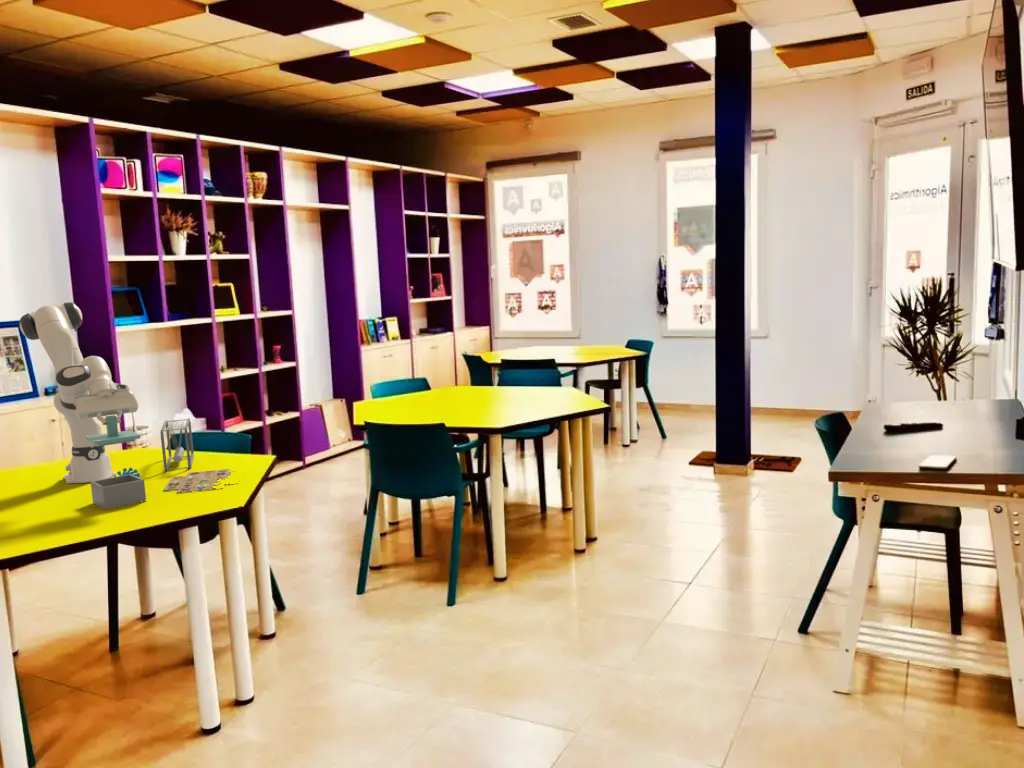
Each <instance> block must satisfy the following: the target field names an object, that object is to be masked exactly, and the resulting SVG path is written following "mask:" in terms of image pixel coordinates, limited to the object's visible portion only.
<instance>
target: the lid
mask: <svg viewBox="0 0 1024 768" xmlns="http://www.w3.org/2000/svg"><path fill="white" fill-rule="evenodd" d="M104 417H105V418H106V419H107V425H105V426H106V433H102V434H99V435H92V436H86V440H88V441H89V442H91V443H93V444H94V445H98V446H105V447H106V446H111V445H117V444H118V445H119V444H124V443H132V442H136V440H138V439H141V434H139V433H137V432H135V431H133V430H131V429H129V430H122V431H119V429H118V423H117V418H116V417H117V415H108V416H104Z"/></svg>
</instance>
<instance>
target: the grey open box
mask: <svg viewBox="0 0 1024 768" xmlns="http://www.w3.org/2000/svg"><path fill="white" fill-rule="evenodd" d="M141 478H142V477H137V476H134V475H132V474H129V475H123V476H119V475H118V476H117V477H113V476H112V477H109V478H107V479H102V480H97V481H91V482H90V491H91V496H92V503H93V504H94V505H95V504H96V505H95V506H97V505H98V506H97V507H99V506H100V508H101V507H102V508H101V509H103V510H104V509H108V510H111V509H110V508H112V509H115V508H114V507H117V508H120V507H119V506H122V507H125V506H124V505H126V506H129V505H128V504H131V505H134V504H133V503H136V504H138V503H137V502H141V501H145V500H146V501H147V496H146V486H145V479H143V478H142V479H141ZM146 501H145V502H146ZM141 503H142V502H141Z"/></svg>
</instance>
